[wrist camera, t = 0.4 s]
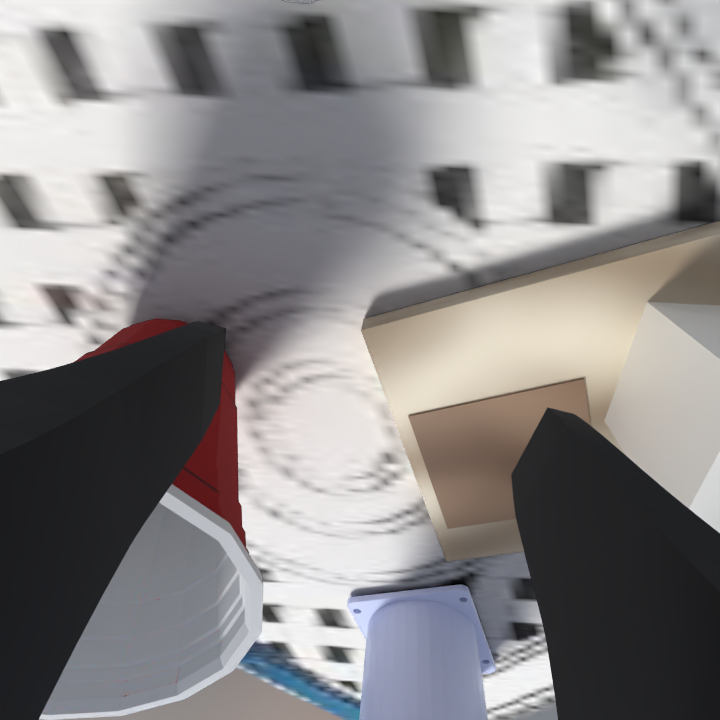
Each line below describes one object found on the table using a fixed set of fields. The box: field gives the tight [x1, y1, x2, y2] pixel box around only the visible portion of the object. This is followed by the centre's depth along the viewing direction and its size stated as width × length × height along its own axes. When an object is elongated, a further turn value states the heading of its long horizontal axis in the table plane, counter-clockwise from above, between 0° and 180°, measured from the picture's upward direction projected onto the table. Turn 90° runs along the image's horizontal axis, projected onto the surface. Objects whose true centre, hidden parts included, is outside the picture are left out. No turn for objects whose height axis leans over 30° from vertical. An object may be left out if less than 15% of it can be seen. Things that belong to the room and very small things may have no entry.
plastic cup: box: [39, 319, 263, 720], centre depth 16 cm, size 11×11×12 cm
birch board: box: [361, 221, 720, 562], centre depth 20 cm, size 15×17×1 cm
